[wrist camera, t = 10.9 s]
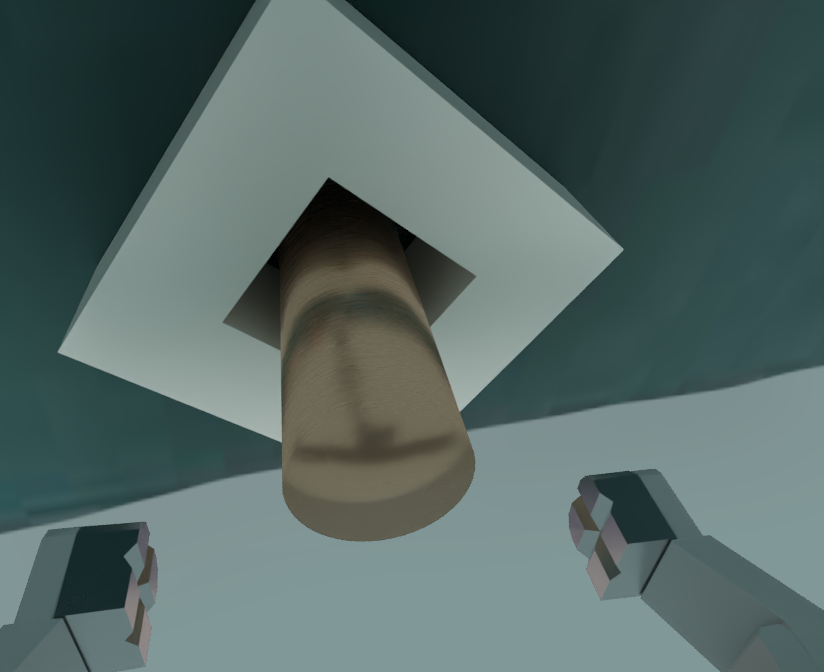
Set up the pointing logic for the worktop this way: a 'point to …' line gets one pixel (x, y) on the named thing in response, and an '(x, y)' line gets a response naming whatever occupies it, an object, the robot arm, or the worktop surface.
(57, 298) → the worktop surface
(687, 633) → the robot arm
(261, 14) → the fitting block
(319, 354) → the wooden peg
